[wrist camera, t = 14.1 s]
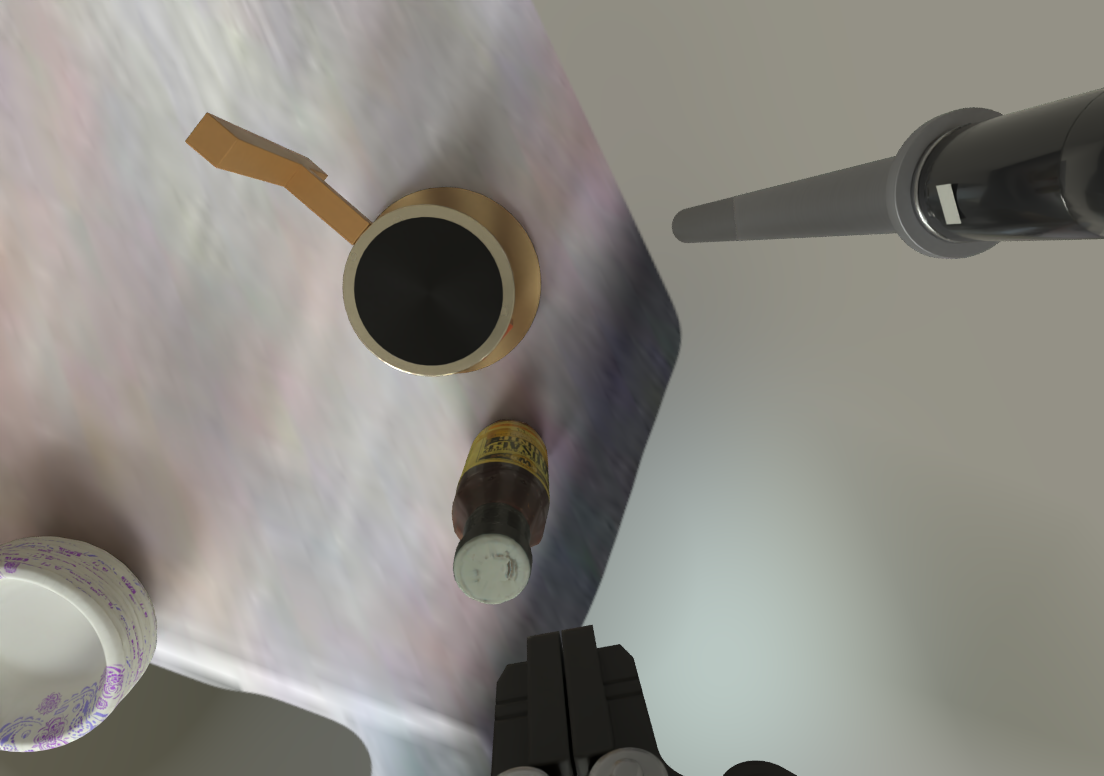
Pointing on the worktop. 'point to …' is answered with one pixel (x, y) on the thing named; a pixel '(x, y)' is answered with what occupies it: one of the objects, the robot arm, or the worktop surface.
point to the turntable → (514, 245)
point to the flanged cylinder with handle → (392, 261)
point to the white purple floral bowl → (67, 639)
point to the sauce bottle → (500, 511)
